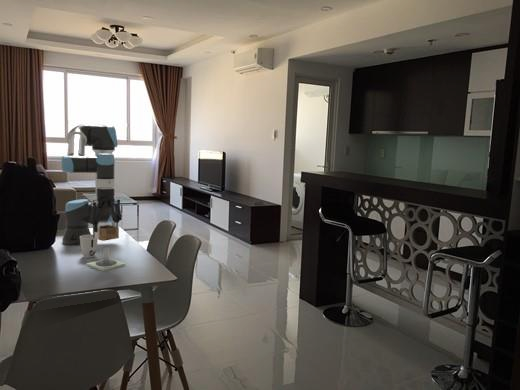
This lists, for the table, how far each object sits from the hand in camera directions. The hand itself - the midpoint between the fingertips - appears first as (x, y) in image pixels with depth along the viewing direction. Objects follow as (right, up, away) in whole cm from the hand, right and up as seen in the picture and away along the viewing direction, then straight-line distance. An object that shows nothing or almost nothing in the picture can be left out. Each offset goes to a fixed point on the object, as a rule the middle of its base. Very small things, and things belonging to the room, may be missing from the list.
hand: (105, 237), depth 195 cm
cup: (-14, -11, +15) cm, 23 cm away
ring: (0, 0, 0) cm, 0 cm away
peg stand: (0, -13, +2) cm, 13 cm away
